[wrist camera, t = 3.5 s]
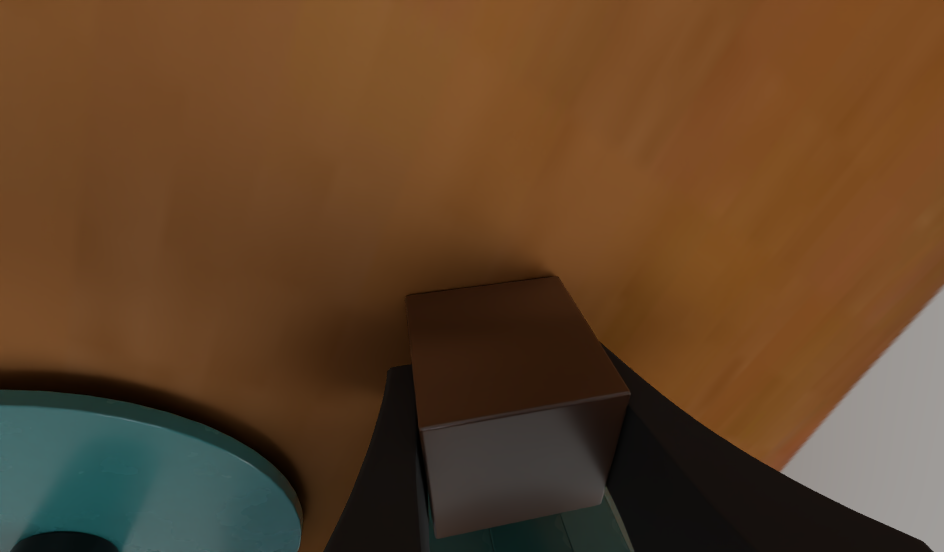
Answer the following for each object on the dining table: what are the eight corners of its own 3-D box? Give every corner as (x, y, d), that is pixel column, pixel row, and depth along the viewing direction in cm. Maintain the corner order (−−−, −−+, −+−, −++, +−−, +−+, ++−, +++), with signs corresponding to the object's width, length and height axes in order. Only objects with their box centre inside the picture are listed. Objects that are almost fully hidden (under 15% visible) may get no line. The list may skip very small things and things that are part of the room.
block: (419, 401, 14) (435, 541, 10) (404, 294, 11) (418, 430, 8) (547, 380, 14) (601, 505, 11) (558, 274, 12) (632, 392, 9)
